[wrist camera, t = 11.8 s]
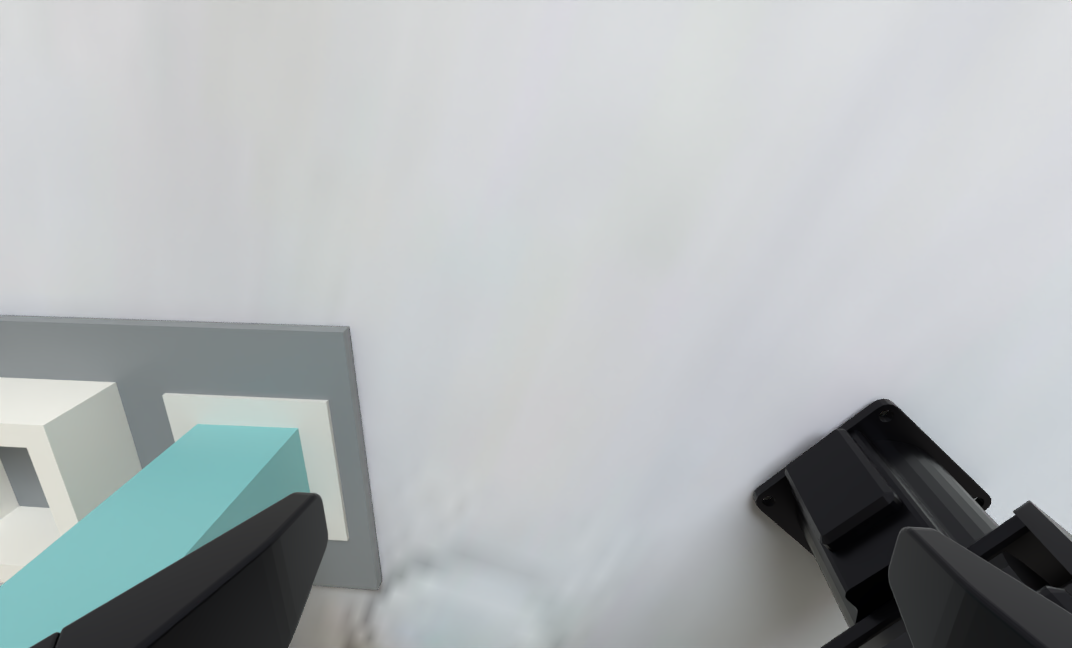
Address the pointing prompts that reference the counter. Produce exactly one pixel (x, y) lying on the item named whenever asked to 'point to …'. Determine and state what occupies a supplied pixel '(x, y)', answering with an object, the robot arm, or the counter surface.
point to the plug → (152, 524)
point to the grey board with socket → (172, 419)
